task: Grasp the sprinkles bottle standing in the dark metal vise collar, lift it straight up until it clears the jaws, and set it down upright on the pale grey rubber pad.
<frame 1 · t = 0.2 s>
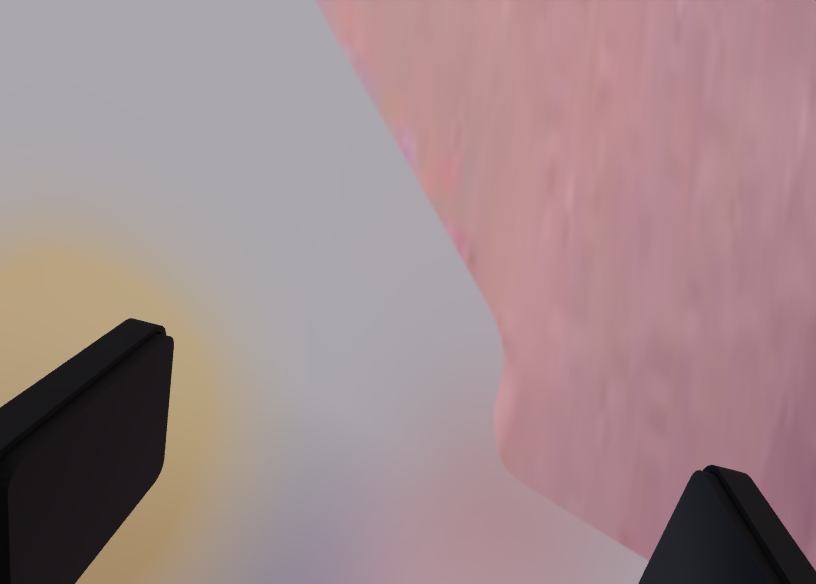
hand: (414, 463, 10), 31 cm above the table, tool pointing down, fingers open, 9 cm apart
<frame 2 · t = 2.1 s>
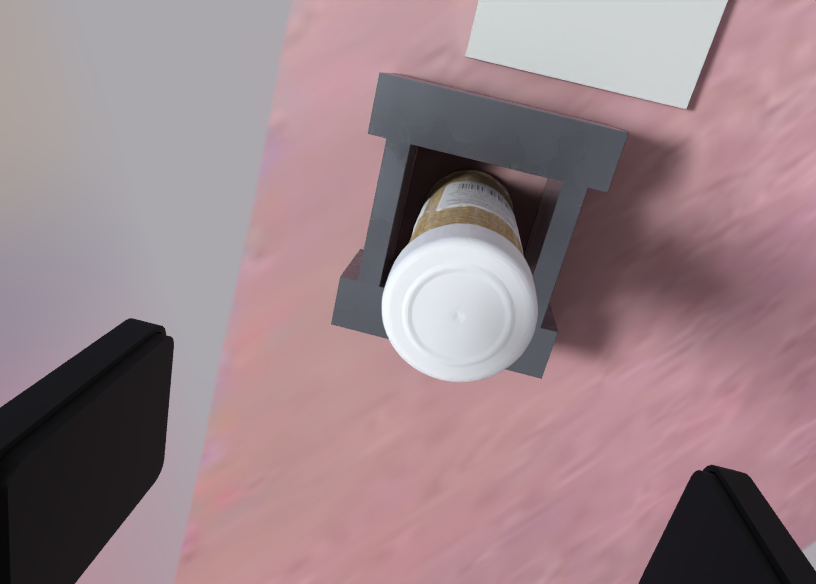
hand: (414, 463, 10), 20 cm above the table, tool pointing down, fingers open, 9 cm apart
sprinkles bottle: (469, 213, 29), resting in vise collar
vise collar: (469, 213, 29), on the table
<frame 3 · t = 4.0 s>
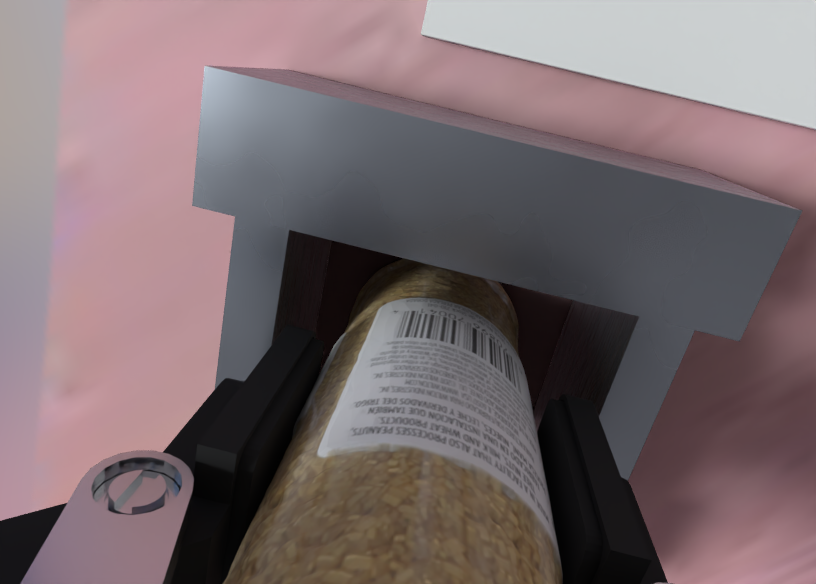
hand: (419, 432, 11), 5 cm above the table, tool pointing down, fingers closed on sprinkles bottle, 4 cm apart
sprinkles bottle: (436, 326, 16), resting in vise collar, touching gripper
vise collar: (435, 330, 16), on the table
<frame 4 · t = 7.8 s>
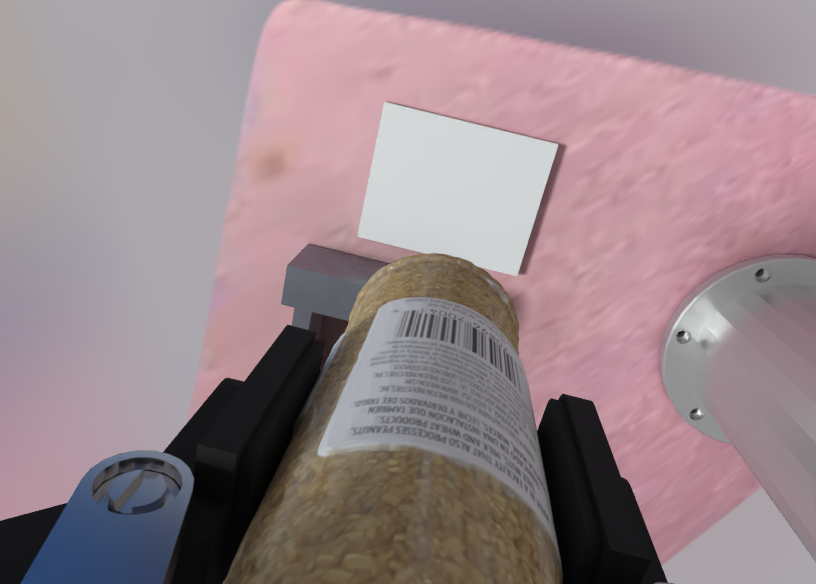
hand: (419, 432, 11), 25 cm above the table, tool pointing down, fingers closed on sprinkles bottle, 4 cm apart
rubber pad: (453, 190, 34), on the table
sprinkles bottle: (436, 326, 16), point 20 cm above the table, touching gripper
vise collar: (368, 341, 38), on the table
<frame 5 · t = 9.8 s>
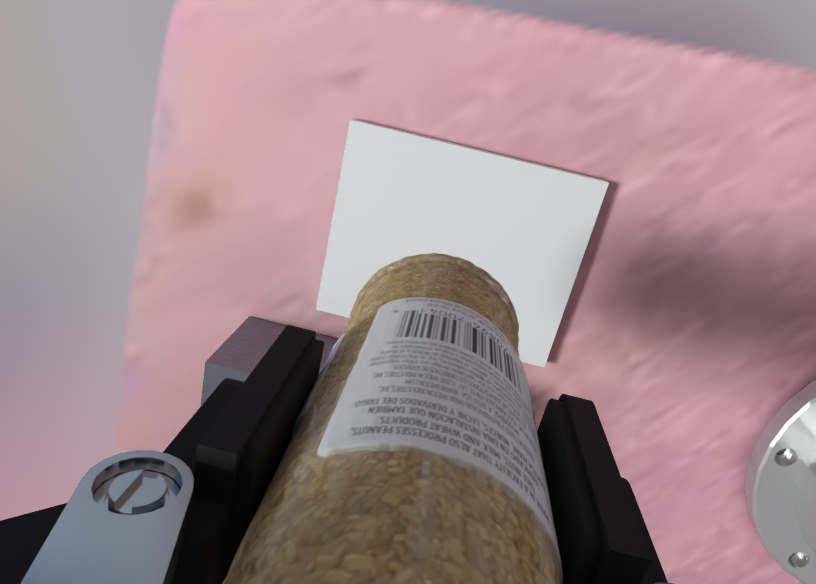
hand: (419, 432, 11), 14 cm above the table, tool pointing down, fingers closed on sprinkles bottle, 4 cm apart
rubber pad: (453, 246, 24), on the table
sprinkles bottle: (436, 326, 16), point 9 cm above the table, touching gripper
vise collar: (335, 446, 28), on the table
when the fingers open (6 cm above the table, at t = 11.6 s): sprinkles bottle stays where it is, resting on rubber pad.
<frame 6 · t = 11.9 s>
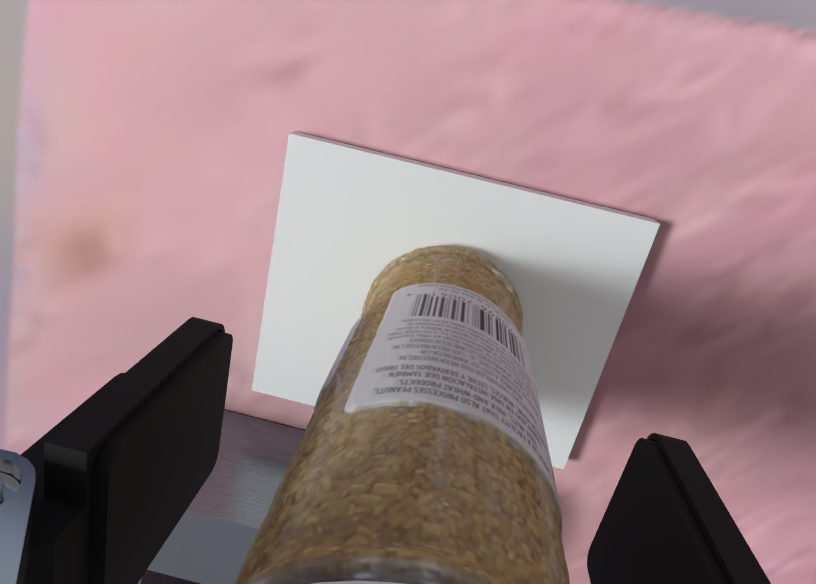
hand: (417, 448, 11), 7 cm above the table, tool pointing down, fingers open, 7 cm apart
rubber pad: (438, 307, 17), on the table
sprinkles bottle: (444, 315, 17), resting on rubber pad
vise collar: (287, 558, 21), on the table
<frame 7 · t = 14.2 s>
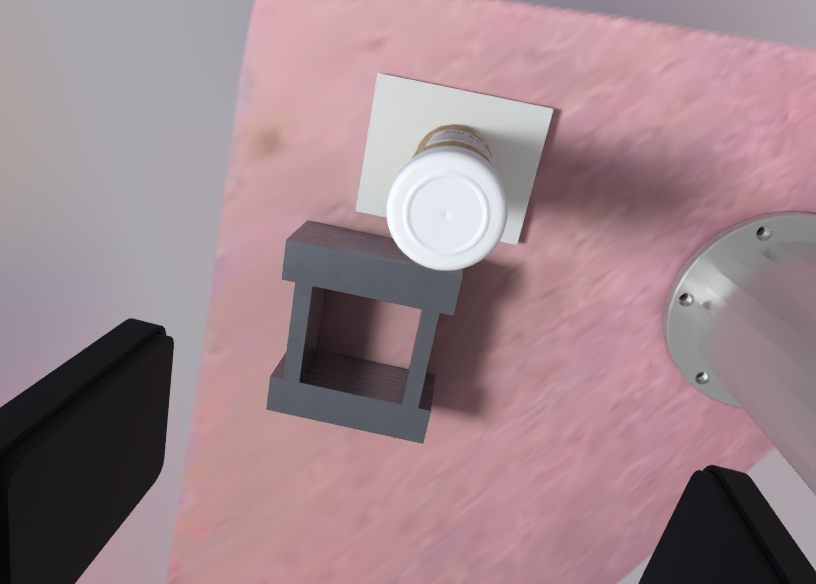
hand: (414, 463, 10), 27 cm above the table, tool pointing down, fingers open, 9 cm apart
rubber pad: (450, 160, 34), on the table
sprinkles bottle: (453, 163, 34), resting on rubber pad
vise collar: (370, 317, 38), on the table
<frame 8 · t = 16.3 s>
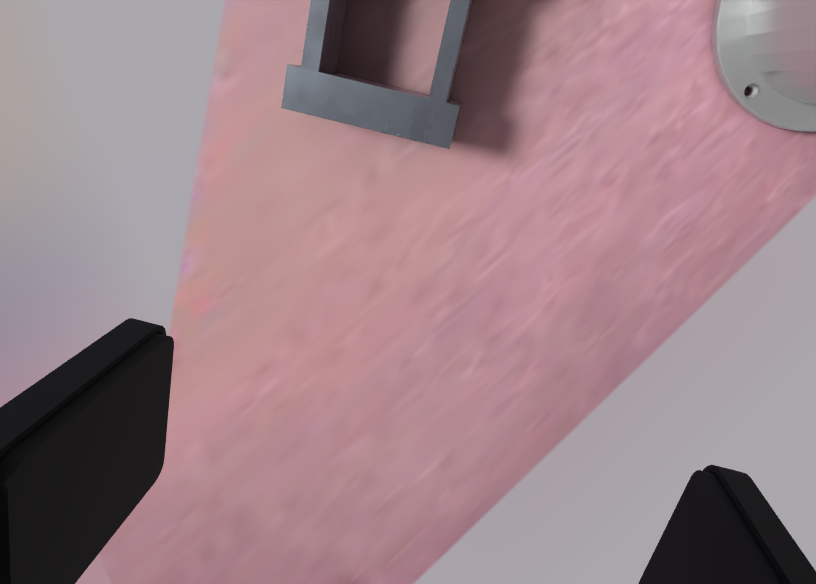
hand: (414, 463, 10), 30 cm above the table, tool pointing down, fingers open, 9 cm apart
vise collar: (395, 30, 36), on the table
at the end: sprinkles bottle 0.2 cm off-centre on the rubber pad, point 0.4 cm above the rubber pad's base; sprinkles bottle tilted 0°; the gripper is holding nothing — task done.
